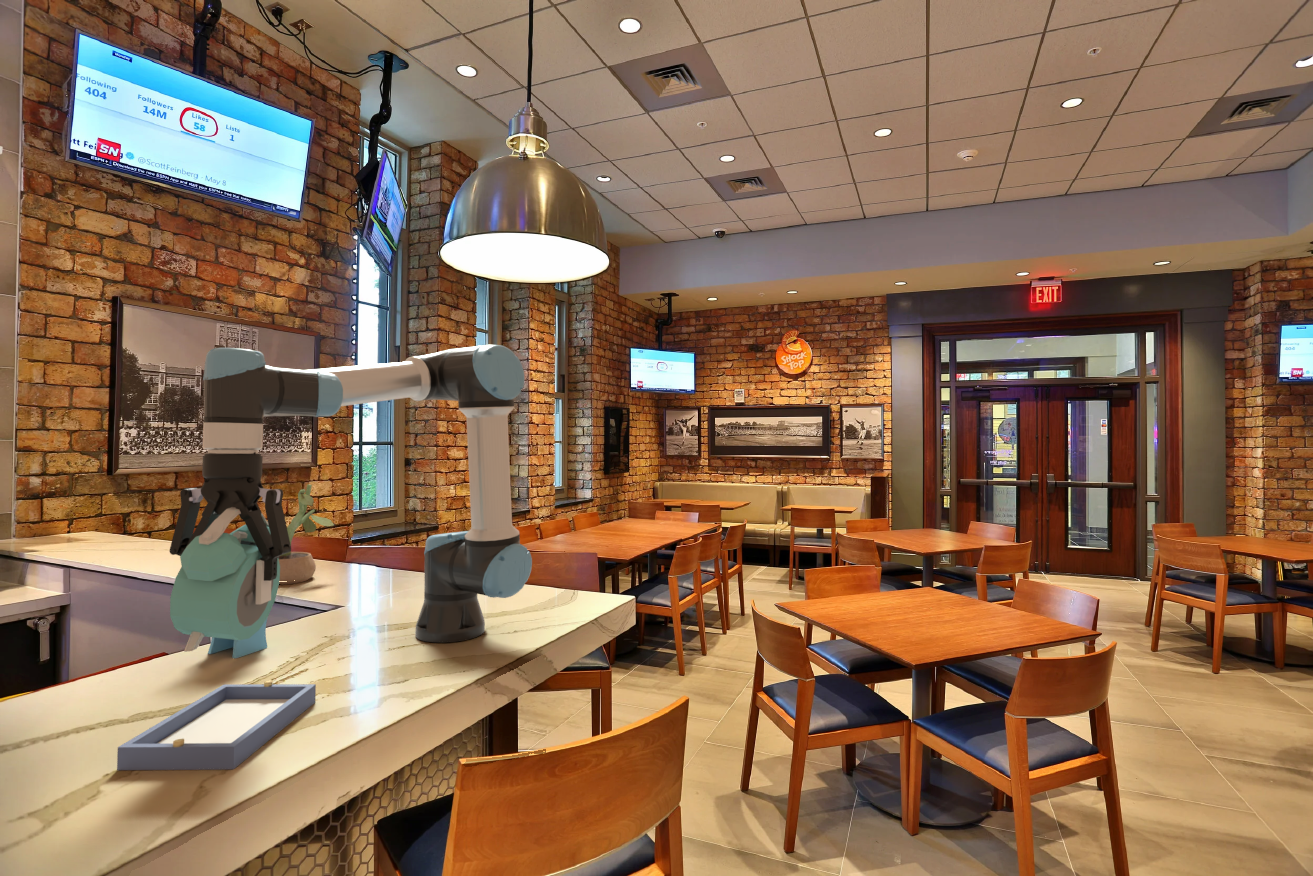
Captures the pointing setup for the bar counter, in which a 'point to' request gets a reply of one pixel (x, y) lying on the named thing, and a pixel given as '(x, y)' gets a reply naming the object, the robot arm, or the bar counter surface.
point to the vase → (241, 643)
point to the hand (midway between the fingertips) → (230, 602)
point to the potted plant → (300, 563)
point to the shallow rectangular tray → (217, 728)
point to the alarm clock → (220, 585)
